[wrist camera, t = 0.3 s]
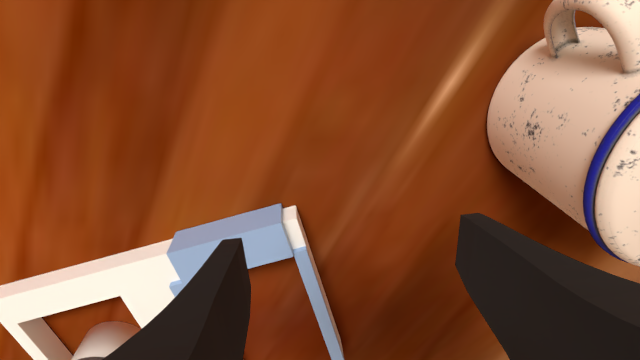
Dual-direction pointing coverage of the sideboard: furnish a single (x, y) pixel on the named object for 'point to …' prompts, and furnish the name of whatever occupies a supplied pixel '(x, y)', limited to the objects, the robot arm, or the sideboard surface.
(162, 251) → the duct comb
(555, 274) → the robot arm
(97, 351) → the banded white cylinder
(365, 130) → the sideboard surface
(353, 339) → the sideboard surface
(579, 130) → the teacup with lid
